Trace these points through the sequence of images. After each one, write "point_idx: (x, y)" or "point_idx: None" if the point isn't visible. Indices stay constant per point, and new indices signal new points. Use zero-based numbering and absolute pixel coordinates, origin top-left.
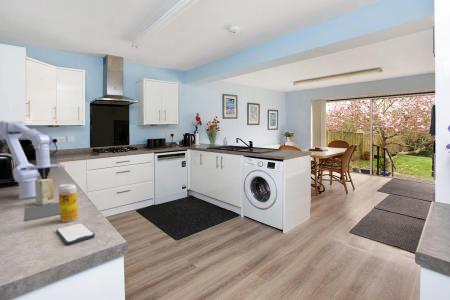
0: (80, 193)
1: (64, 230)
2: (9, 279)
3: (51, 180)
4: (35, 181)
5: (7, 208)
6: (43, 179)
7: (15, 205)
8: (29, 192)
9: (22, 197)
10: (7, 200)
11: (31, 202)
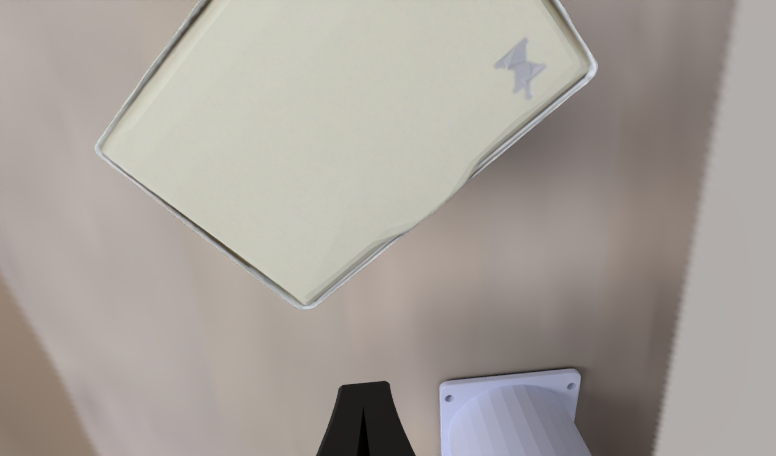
0: (29, 305)
1: None
2: None
3: (136, 96)
4: (580, 43)
5: (699, 79)
6: (366, 227)
7: (623, 162)
8: (513, 421)
9: (553, 387)
10: (649, 378)
11: (489, 197)
